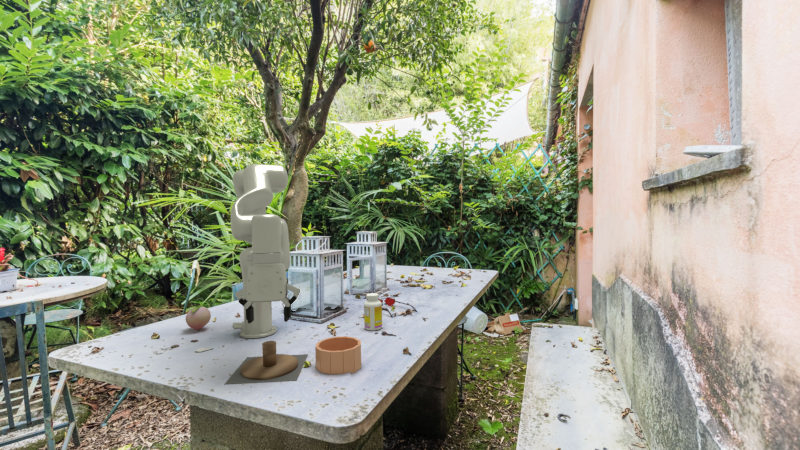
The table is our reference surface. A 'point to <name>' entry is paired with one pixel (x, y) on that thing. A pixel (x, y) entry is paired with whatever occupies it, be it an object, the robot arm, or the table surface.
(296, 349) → the table surface
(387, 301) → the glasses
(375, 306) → the supplement bottle
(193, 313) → the decorative fruit
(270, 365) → the lid
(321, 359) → the bowl
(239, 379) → the mat
